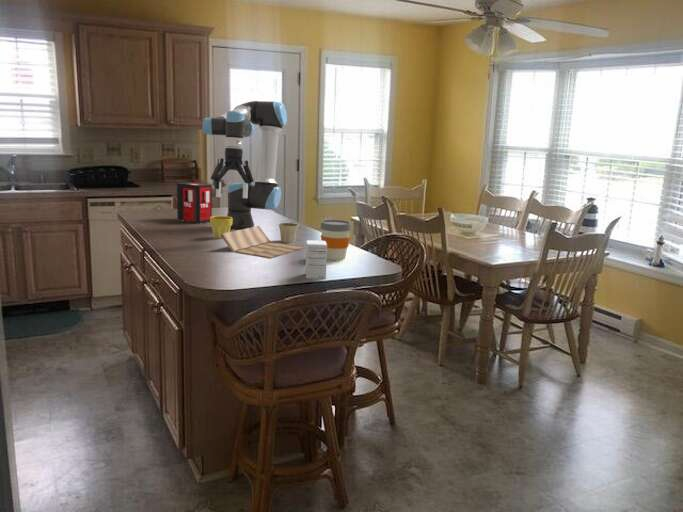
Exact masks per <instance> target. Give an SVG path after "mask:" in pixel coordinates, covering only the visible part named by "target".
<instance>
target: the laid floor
mask: <svg viewBox="0 0 683 512" xmlns="http://www.w3.org/2000/svg"><path fill="white" fill-rule="evenodd" d="M304 249H306V246H301V245H295V244H290V243H283V242H275V241H270V242H269V243H265V244H261V245H257V246H253V247H250V248H246V249H242V250H238V251H235V252H234V253H235V254H242V255H248V256H255V257H258V258H259V257H260V258H265V259H274V258H277V257H281V256H285V255H287V254H290V253H293V252H297V251H301V250H304Z"/></svg>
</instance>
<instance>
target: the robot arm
mask: <svg viewBox="0 0 683 512" xmlns="http://www.w3.org/2000/svg"><path fill="white" fill-rule="evenodd" d="M285 106H286V105H284V103H283V102H279V101H267V100H266V101H260V100H259V101H258V100H252V101H247V102H245V103H242V104H239V105H236V106H235V107H234V108H233V109H232V110H230V111H229V110H228V111H227V112H225V113H223V114H221V115H219V116H216V117H205V118H204V119H203V121H202V131H203V133H204V134H206V135H210V136H225V139H224V140H225V141H224V147H225V149H224V157H225V158H223V157H222V158H220V157H219V158H218V159H217V163H216V165H215V167H214V170H213V172H212V174H211V177H210V180H213V182H214V189H215V198H221V197H222V181H221V180H222V179H223V177H224V176H225V175H226V174H227V172H229V171H230V170H231V171H237V172H238V174H239V175H240V177H241V178H242V182H235V183H234V182H233V183H230V184H229V185H228V186H227V187H228V188H227V214H226V216H228V217H232V218H233V221H232V225H231V228H230V230H234V231H237V230H242V229H247V228H251V227H255V222H254V220H253V215H252V209H255V210H257V209H258V210H266V211H268V210H269V211H270V210H276V209H277V208H278V206H279V204H280V202H281V198H282V189H281V187H280V186H279V183H278V182H277V180H276V173H277V162H278V161H277V160H278V148H279V137H280V136H279V134H280V133H281V132H282V131H283V127H286V125H287V122H288V116H287V115H288V114H287V110H286V107H285ZM254 125H255V126H256V125H257V126H258V128H259V130H261V140H260V150H259V151H260V152H259V163H258V164H259V165H258V177H257V179H256V180H255V181H254V177H253V174H252V173H251V170H250V167H249V161H248V160H242V158H243V152H244V151H243V147H244V138H249V137H252V135H253V134H254V132H255V126H254ZM224 164H225V165H224ZM223 165H224V166H223ZM243 181H244V182H243ZM253 182H254V184H253V185H252V183H253Z"/></svg>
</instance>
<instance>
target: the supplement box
mask: <svg viewBox="0 0 683 512" xmlns="http://www.w3.org/2000/svg"><path fill="white" fill-rule="evenodd" d="M305 241H306V242H305V278H306V279H318V280H319V279H320V280H321V279H322V280H323V279H324V280H325V279H327V260H328V259H327V243H326V241H321V240H311V239H308V240H305Z"/></svg>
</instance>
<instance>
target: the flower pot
mask: <svg viewBox="0 0 683 512" xmlns="http://www.w3.org/2000/svg"><path fill="white" fill-rule="evenodd" d="M277 224H278V228H279V234H280V235H279V236H280V243H284V244H291V243H295V242H296V237H297V231H298V228H299V226H300V225H299V223H295V222H278V223H277Z"/></svg>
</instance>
